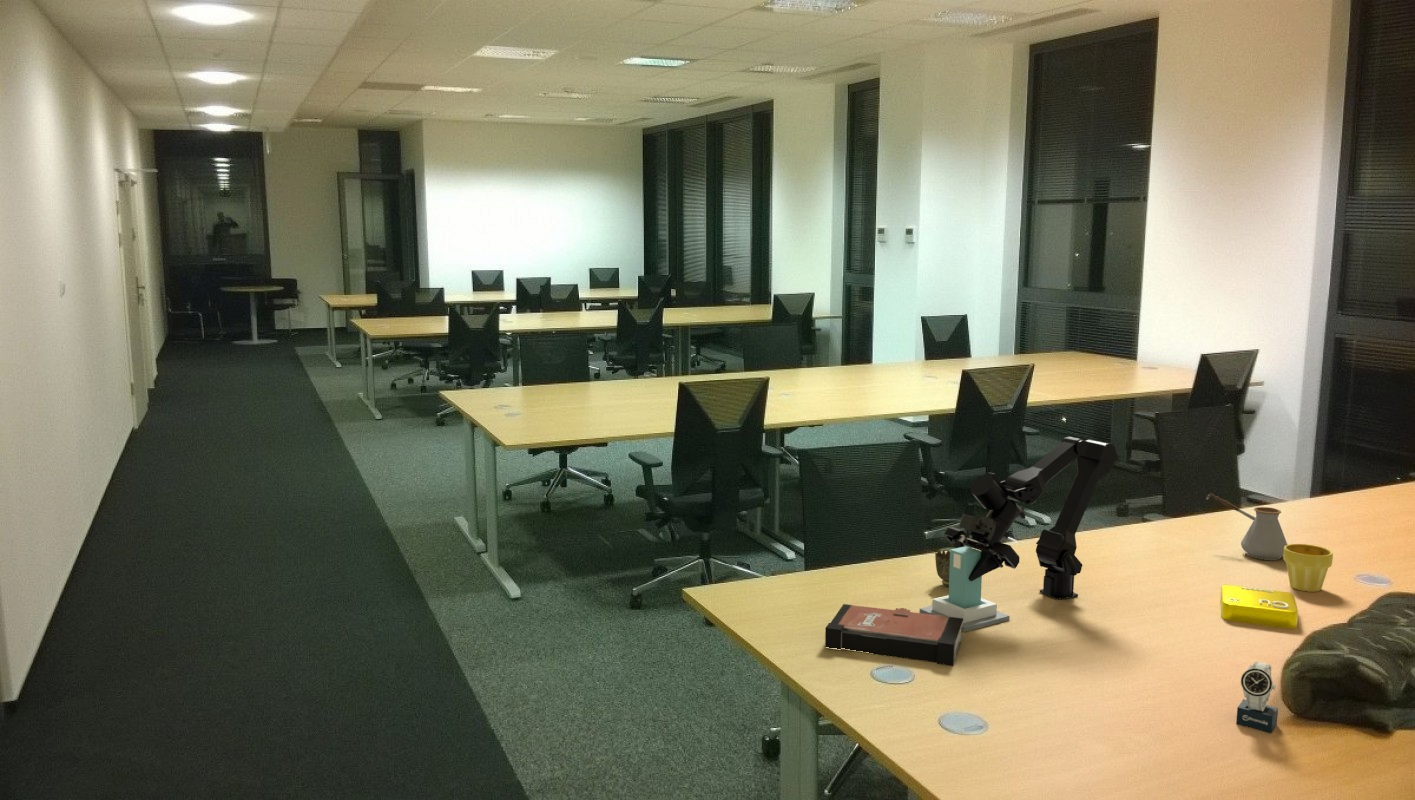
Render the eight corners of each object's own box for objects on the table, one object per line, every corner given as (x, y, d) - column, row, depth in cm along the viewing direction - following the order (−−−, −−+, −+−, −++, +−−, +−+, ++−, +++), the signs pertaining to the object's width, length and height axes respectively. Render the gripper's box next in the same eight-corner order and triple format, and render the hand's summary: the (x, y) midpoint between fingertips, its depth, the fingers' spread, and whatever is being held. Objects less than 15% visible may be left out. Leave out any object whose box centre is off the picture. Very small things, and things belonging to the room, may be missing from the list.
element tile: (1291, 610, 237) (1293, 590, 236) (1297, 632, 224) (1299, 611, 223) (1219, 600, 243) (1221, 581, 243) (1220, 621, 230) (1222, 601, 229)
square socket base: (963, 601, 242) (964, 587, 241) (1009, 620, 230) (1010, 605, 229) (919, 612, 234) (919, 597, 234) (964, 632, 223) (964, 616, 222)
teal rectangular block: (964, 600, 235) (966, 546, 233) (980, 607, 231) (982, 551, 229) (947, 605, 232) (949, 549, 231) (963, 611, 228) (965, 555, 226)
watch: (1233, 728, 178) (1238, 667, 176) (1244, 712, 184) (1249, 653, 183) (1269, 737, 175) (1274, 676, 173) (1279, 721, 181) (1284, 661, 179)
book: (963, 637, 221) (964, 615, 220) (953, 668, 205) (953, 644, 204) (843, 622, 230) (844, 600, 229) (825, 650, 214) (825, 627, 213)
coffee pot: (1293, 556, 277) (1298, 502, 275) (1280, 565, 269) (1285, 509, 267) (1210, 540, 292) (1214, 489, 290) (1195, 548, 284) (1199, 496, 282)
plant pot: (1283, 591, 248) (1287, 552, 247) (1278, 579, 258) (1281, 541, 257) (1333, 597, 245) (1336, 557, 243) (1325, 584, 254) (1329, 545, 253)
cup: (965, 591, 249) (966, 559, 248) (934, 589, 250) (935, 557, 249) (964, 581, 256) (965, 550, 255) (933, 579, 258) (934, 549, 256)
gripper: (950, 492, 238) (914, 546, 234) (1012, 510, 222) (974, 567, 218) (974, 520, 243) (938, 573, 239) (1036, 539, 228) (999, 596, 224)
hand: (961, 576), depth 230 cm, fingers closed on teal rectangular block, 5 cm apart
